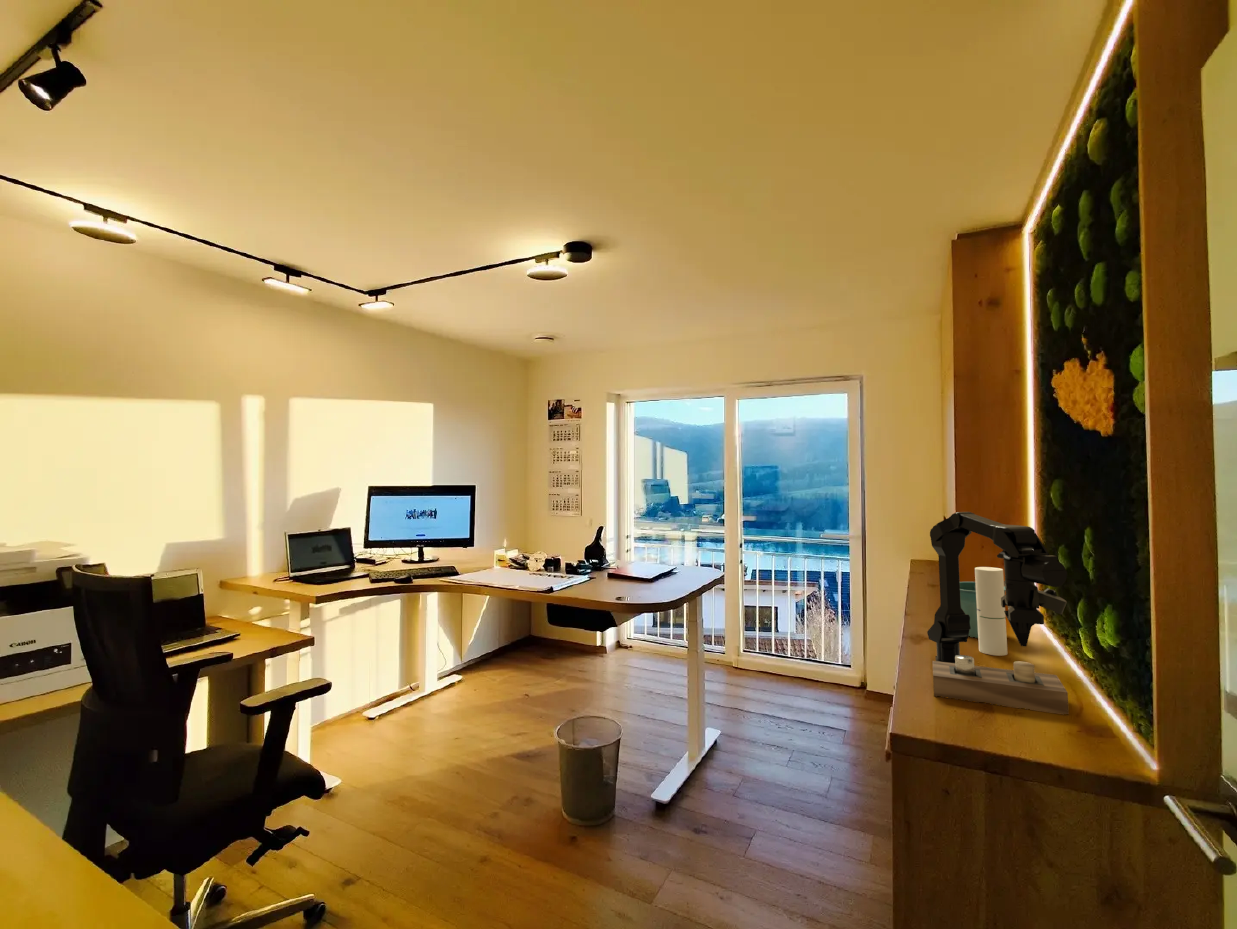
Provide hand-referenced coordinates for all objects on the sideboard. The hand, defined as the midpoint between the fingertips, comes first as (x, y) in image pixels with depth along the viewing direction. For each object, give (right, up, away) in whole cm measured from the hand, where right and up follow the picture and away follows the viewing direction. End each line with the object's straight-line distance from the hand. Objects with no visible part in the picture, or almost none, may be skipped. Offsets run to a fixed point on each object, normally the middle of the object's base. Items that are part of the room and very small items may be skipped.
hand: (1022, 645), depth 131 cm
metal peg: (-10, -10, +6) cm, 15 cm away
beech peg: (0, -9, 0) cm, 9 cm away
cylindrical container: (+17, -14, +35) cm, 41 cm away
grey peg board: (-5, -13, +3) cm, 14 cm away
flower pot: (+25, -14, +54) cm, 61 cm away
